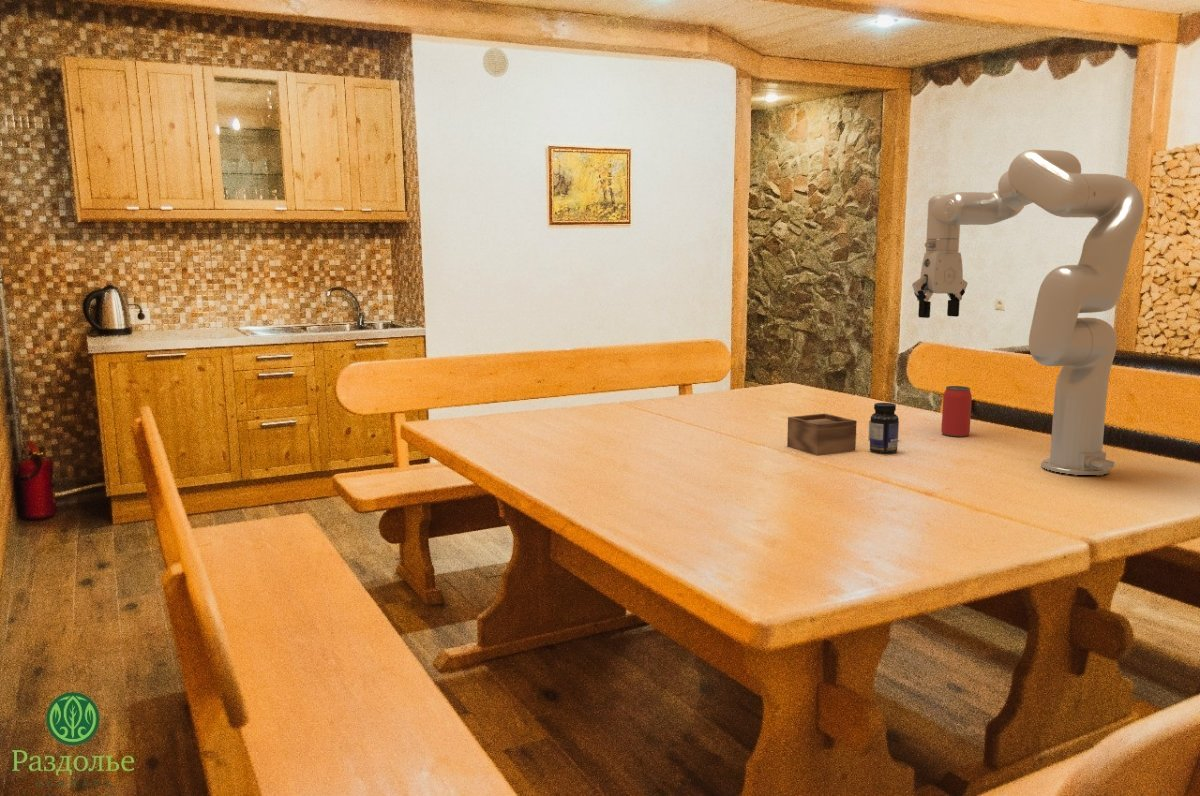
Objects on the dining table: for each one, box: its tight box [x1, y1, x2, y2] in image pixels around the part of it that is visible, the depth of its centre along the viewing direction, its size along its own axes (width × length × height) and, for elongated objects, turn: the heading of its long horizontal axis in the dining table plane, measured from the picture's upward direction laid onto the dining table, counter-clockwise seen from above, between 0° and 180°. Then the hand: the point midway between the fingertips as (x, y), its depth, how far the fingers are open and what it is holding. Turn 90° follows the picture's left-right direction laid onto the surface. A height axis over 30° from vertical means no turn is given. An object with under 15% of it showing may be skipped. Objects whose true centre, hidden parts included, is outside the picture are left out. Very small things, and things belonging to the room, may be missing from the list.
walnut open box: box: [786, 413, 858, 456], centre depth 208 cm, size 11×11×7 cm
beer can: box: [940, 385, 973, 438], centre depth 223 cm, size 7×7×12 cm
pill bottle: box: [869, 402, 900, 455], centre depth 204 cm, size 6×6×11 cm
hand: (938, 316), depth 221 cm, fingers open, 9 cm apart
